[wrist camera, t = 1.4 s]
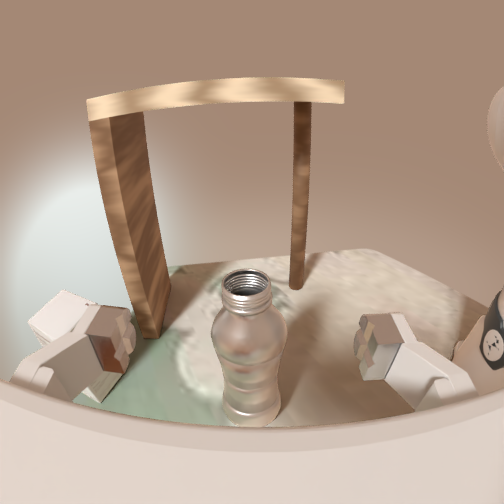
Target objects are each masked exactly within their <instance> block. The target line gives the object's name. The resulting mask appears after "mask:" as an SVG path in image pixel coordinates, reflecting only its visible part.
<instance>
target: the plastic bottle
mask: <svg viewBox="0 0 504 504" xmlns="http://www.w3.org/2000/svg"><path fill="white" fill-rule="evenodd" d="M221 285H222V304H223V307H222V308H221V310H220V311H219V313H218V314H217V315H216V317H215V319H214V322H213V325H212V329H211V338H212V342H213V345H214V348H215V351H216V353H217V356H218V358H219V361H220V364H221V367H222V371H223V376H224V392H223V398H222V406H223V409H224V412H225V413H226V415H227V417H228V418H229V420H230V421H231V422H232V423H234V424H235V425H237V426H239V427H264V426H266V425H268V424H269V423H271V422H272V421H273V420H274V419H275V417H276V416H277V414H278V412H279V410H280V407H281V397H280V391H279V388H278V377H277V376H278V370H279V364H280V360H281V357H282V353H283V350H284V347H285V344H286V340H287V333H288V330H287V326H286V323H285V320H284V317H283V316H282V314H281V313H280V312H279V311H278V310H277V309H276V308H275V306H274V305H273V304H272V292H271V282H270V279H269V277H268V276H267V275H266V274H265V273H263V272H261V271H259V270H255V269H240V270H235V271H233V272H230V273H229V274H227V275H226V276H225V277H224V278H223V280H222V284H221Z"/></svg>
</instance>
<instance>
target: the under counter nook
mask: <svg viewBox="0 0 504 504" xmlns="http://www.w3.org/2000/svg"><path fill="white" fill-rule="evenodd" d="M344 82H345V81H339V80H326V79H309V78H272V77H271V78H232V79H215V80H202V81H192V82H183V83H174V84H166V85H160V86H153V87H146V88H141V89H134V90H129V91H124V92H119V93H114V94H109V95H105V96H100V97H96V98H92V99H87V109H88V117H89V126H90V132H91V139H92V146H93V152H94V158H95V163H96V169H97V174H98V179H99V184H100V189H101V194H102V199H103V203H104V207H105V211H106V216H107V220H108V224H109V228H110V232H111V236H112V240H113V244H114V248H115V251H116V255H117V258H118V262H119V265H120V268H121V272H122V275H123V279H124V282H125V285H126V288H127V291H128V295H129V298H130V301H131V304H132V306H133V310H134V312H135V315H136V318H137V321H138V324H139V327H140V329H141V332H142V335H143V337H144V338H152V339H159V337H160V332H161V328H162V323H163V319H164V315H165V310H166V306H167V302H168V298H169V294H170V290H171V283H170V279H169V274H168V269H167V264H166V259H165V254H164V249H163V244H162V239H161V234H160V228H159V223H158V217H157V211H156V205H155V199H154V193H153V186H152V180H151V173H150V166H149V158H148V150H147V143H146V134H145V126H144V115H143V111H148V110H155V109H163V108H170V107H179V106H189V105H199V104H212V103H228V102H252V101H294V162H293V165H294V166H293V205H292V233H291V234H292V235H291V255H290V276H289V287H290V288H291V289H293V290H299V289H301V288H302V285H303V273H304V260H305V246H306V232H307V215H308V198H309V197H308V196H309V176H310V147H311V102H326V103H327V102H328V103H342V104H344Z"/></svg>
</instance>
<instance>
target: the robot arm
mask: <svg viewBox="0 0 504 504" xmlns="http://www.w3.org/2000/svg"><path fill="white" fill-rule="evenodd" d="M487 131H488V138H489V143H490V146H491V149H492V152H493V154H494V156H495V158H496V160H497V162H498V164H499V165H500V167H501V168H502V169H503V171H504V86H503V87H502V88H501V89H500V90H499V91H498V92H497V93H496V95H495V96H494V98H493V100H492V102H491V104H490V108H489V111H488V119H487ZM131 317H132V316H131V313H130V310H129V309H128V308H123V307H114V306H106V305H96V304H91V305H89V306H88V308H87V309H86V311H85V312H84V314H83V315H82V317H81V319H80V320H79V322H78V323H77V325H76V327H75V328H74V330H73V332H68V333H66V334H64V335H63V336H61V337H59V338H58V339H56V340H54V341H53V342H51V343H49V344H47V345H46V346H44V347H42V348H41V349H39V350H38V351H36V352H34V353H33V354H31V355H29V356H28V357H26V358H24V359H23V360H22V362H21V363H20V365H19V366H18V368H17V369H16V371H15V373H14V374H13V376H12V378H11V380H10V381H9V382H7V381H5V380H2V379H0V504H504V286H503V289H502V290H501V291H500V292H499V293H498V294H497V295H496V297H495V299H494V300H493V301H492V303H491V305H490V307H489V309H488V312H487V314H486V315H482V316H481V317H480V318H479V320H478V321H477V323H476V324H475V326H474V327H473V329H472V330H471V332H470V333H469V335H468V336H467V338H466V339H465V340H461V341H459V342H458V343H457V344H456V346H455V348H454V358H453V360H452V361H449V360H448V359H447V358H445V357H444V356H442V355H441V354H439V353H438V352H436V351H435V350H433V349H432V348H430V347H429V346H427V345H426V344H424V343H423V342H418V341H417V339H416V337H415V335H414V333H413V332H412V330H411V328H410V326H409V324H408V322H407V321H406V319H405V317H404V315H403V314H402V313H401V312H396V313H388V314H387V313H385V314H363V315H362V317H361V318H360V322H359V325H360V327H361V329H359V330H358V331H357V332H356V335H355V338H354V352H355V356H356V358H357V359H359V360H360V361H361V362H360V365H359V369H360V372H361V375H362V378H363V381H366V380H379V379H385V381H386V382H387V383H388V384H389V385H390V386H391V387H392V388H393V389H394V390H395V391H396V392H397V393H398V394H399V395H400V396H401V397H402V398H403V399H404V400H405V401H406V402H407V403H408V404H409V405H410V406H411V407H412V408H413V409H414V410H415V411H414V412H413V413H409V414H404V415H399V416H393V417H387V418H380V419H374V420H366V421H358V422H350V423H340V424H330V425H316V426H298V427H233V426H214V425H201V424H190V423H180V422H172V421H164V420H157V419H150V418H143V417H137V416H131V415H126V414H121V413H115V412H111V411H106V410H101V409H97V408H92V407H88V406H84V405H80V404H76V403H73V401H72V400H73V399H74V398H75V397H76V396H78V395H79V394H80V393H81V392H82V391H83V390H84V389H85V388H87V387H88V386H89V385H90V384H91V383H92V382H93V381H94V380H96V379H97V378H98V377H99V376H100V375H101V374H102V373H103V372H104V371H107V372H114V373H122V374H125V371H126V369H127V366H128V363H129V361H130V360H129V357H128V355H129V354H130V353H131V352H133V350H134V347H135V343H136V331H135V327H134V326H133V325H132V324H131V323H130V320H131Z"/></svg>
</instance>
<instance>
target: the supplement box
mask: <svg viewBox="0 0 504 504" xmlns="http://www.w3.org/2000/svg"><path fill="white" fill-rule="evenodd" d="M91 304H96V305H98V304H97V303H94V302H92V301H90V300H87V299H85V298H83V297H80V296H77V295H75V294H73V293H71V292H68V291H66V290H61V291H60V292H59V293H58V294H57V295H56V296H55V297H54V298H53V299H52V300H50V301H49V302H48V303H47V304H46V305H45V306H44V307H43V308H42V309H41V310H39V311H38V312H37V313H36V314H35V315H34V316H33V317H32V318H31V319H30V320H28V323H29V325H30V327H31V329H32V330H33V332H34V334H35V335H36V337H37V339H38V340H39V342H40V343H41V345H42V347H44V346H46V345H47V344H49V343H51V342H53V341H54V340H56V339H58V338H59V337H61V336H63V335H64V334H66V333H68V332H73V330H74V328H75V327H76V325H77V323H78V322H79V320H80V319H81V317H82V315H83V314H84V312H85V311H86V309H87V308H88V306H89V305H91ZM121 376H122V373H114V372H107V371H104V372H103V373H102V374H101V375H100V376H99V377H98V378H97V379H96V380H94V381H93V382H92V383H91V384H90V385H89V386H88V387H87V388H85V389H84V390H83V391H82V393H84V394H85V395H87V396H88V397H90V398H92V399H93V400H95V401H97V402H98V403H101V402H102V400H103V399H104V398H105V396H106V395H107V394H108V392H109V391H110V390H111V389H112V387H113V386H114V385H115V383H116V382H117V381H118V380H119V378H120V377H121Z"/></svg>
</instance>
